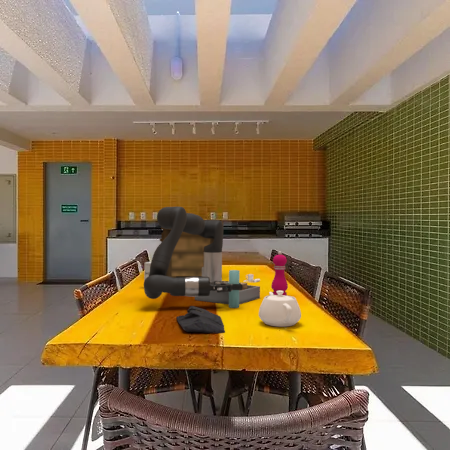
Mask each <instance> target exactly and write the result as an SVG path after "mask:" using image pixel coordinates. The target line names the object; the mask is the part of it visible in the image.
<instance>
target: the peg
mask: <svg viewBox="0 0 450 450" xmlns="http://www.w3.org/2000/svg"><path fill="white" fill-rule="evenodd" d="M228 281H229V284H239V282H240V270H237V269H230V270H229V271H228ZM228 308H231V309H237V308H238V309H239V308H240V304H239V290H233V291H231V292H229V304H228Z"/></svg>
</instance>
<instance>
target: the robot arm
mask: <svg viewBox="0 0 450 450" xmlns="http://www.w3.org/2000/svg"><path fill="white" fill-rule="evenodd" d="M156 214H157V215H156V220H157V223H158V226H159V227H160V228H161V227H162V228H164V229H171V231H170V233H169V234H168V236H167V237H166V238H165V239H164V240H163V241H162V243H161V242H160V243H159V244H158V245H157V246H156V249H155V250H154V252H153V255H152V259H151V261H150V262H151V265H150V273H149V276H148V277H147V278H146V279H145V281H143V291H144V294H145V296H146V297H147V298H149V299H152V300H155V299H158V298H159V297H160V296H162V294H163V293H166V294H170V296H173V297H194V298H195V297H197V296H209V295H210V291H211V290H212V291H215V292H218V293H219V292H231V291H233V290H242V284H241V283H242V282H240V281H239V284H229V282H228V281H229V280H223V278H222V275H223V266H222V265H223V245H224V242H223V241H224V240H223V239H224V222H223V223H222V222H221V220H219V219H218V220H217V219H206V220H204V219H203V218H202V217H201V216H200V215H199V214H195V213H190V212H189V213H188V212H187V210H186V209H185V208H184V207H183V206H165V207H162V208H161V209H159V211H158V212H157V213H156ZM182 232H185V233H189V234H193V235H200V236H202V237H204V238H211V239H214V241H213V243H211V244H210V245H207V246H205V247H204V267H202V276H176V278H173V277H169V276H166V273H167V271H168V267H169V264H170V260H171V257H172V254H173V251H174V249H175V246H176V244H177V242H178V240H179V238H180V236H181V234H182Z"/></svg>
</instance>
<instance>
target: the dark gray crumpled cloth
mask: <svg viewBox="0 0 450 450" xmlns="http://www.w3.org/2000/svg"><path fill="white" fill-rule="evenodd" d="M176 320H177V323H178V324H179V325H180V327H181V328H182V329H183V331H185V332H186V333H204V334H225V333H226V330H225V324H224V323H223V319H222V317H221V315H218V314H216V313H213V312H211V311H209V310H207V309H205V308H202V307H197V306H195V305H190V306H189V307H188V309H187V313H186V314H184V315H179V316H177V317H176Z"/></svg>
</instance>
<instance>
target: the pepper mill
mask: <svg viewBox="0 0 450 450" xmlns="http://www.w3.org/2000/svg"><path fill="white" fill-rule="evenodd" d="M287 262H288V260H287V257H286V256H285V255H284V254H283V253H282V251H281V250H279V251H278V252H277V254H276V255H275V256H273V259H272V263H273V264H274V266H273V269H274V278H273V279H272V281H271V286H270V287H271V290H273V291H271V292H272V293H273V294H274V295H278V294H277V292H276V291H284V293H283V294H282V295H286V296H288V295H287V294H288V292H287V290H288V288H289V286H288V282H287V279H286V276H285V270H286V264H287Z"/></svg>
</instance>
